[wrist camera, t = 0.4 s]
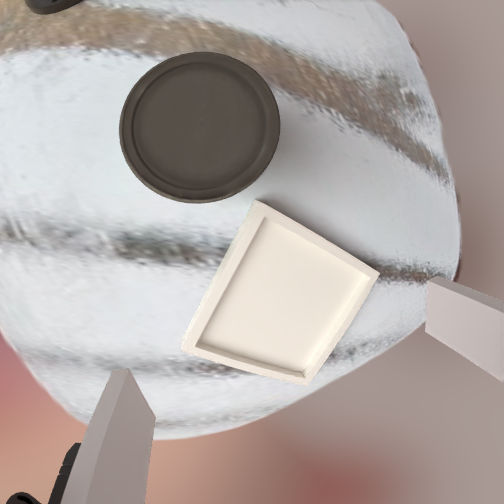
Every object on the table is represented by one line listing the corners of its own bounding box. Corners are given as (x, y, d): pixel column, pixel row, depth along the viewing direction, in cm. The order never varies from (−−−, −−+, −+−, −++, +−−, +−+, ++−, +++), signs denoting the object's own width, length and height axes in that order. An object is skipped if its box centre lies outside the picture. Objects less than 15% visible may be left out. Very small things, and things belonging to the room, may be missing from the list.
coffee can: (141, 116, 26) (110, 71, 13) (230, 97, 28) (264, 44, 15) (158, 202, 29) (136, 222, 16) (247, 182, 31) (293, 185, 18)
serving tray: (254, 199, 32) (260, 201, 29) (369, 267, 38) (379, 273, 36) (181, 339, 34) (181, 350, 32) (301, 376, 40) (306, 385, 38)
